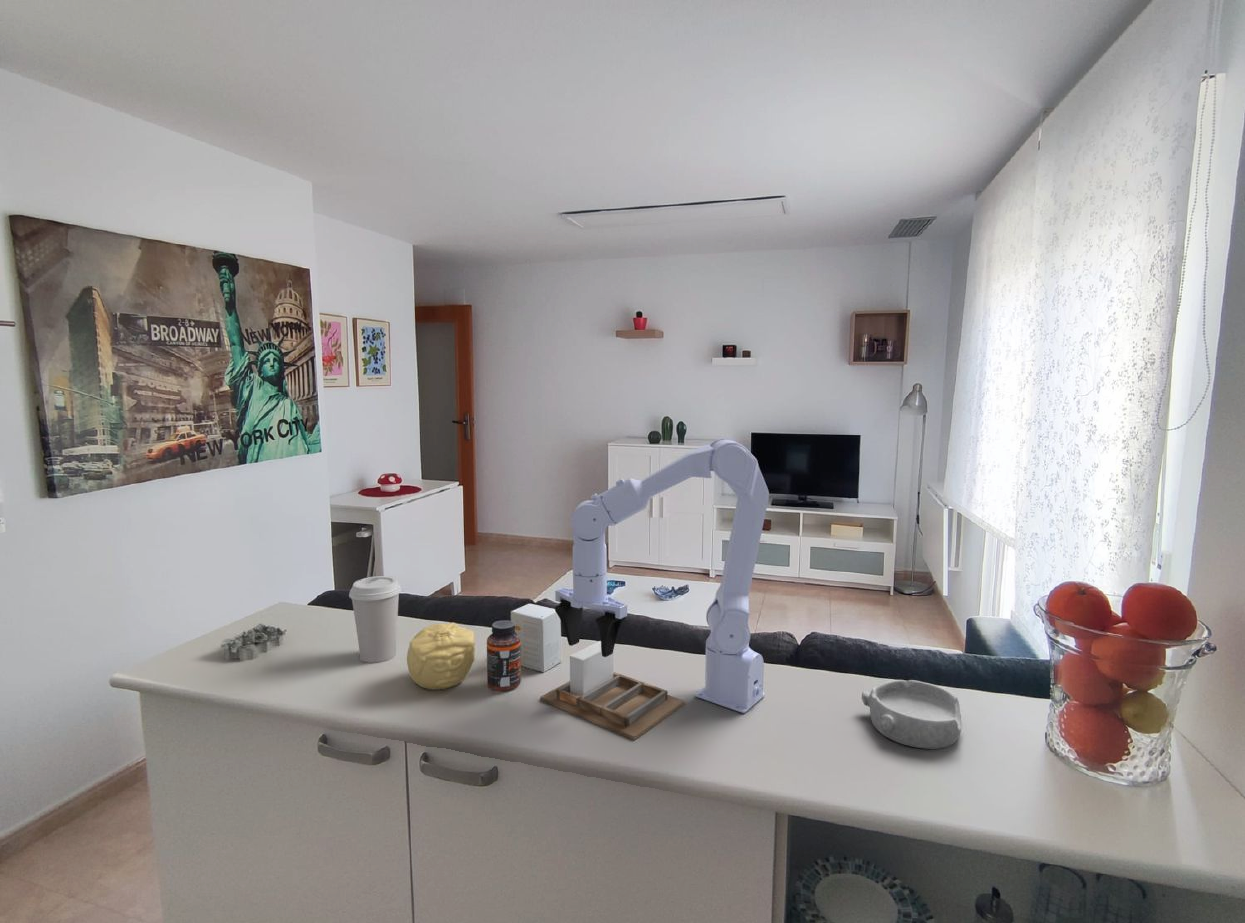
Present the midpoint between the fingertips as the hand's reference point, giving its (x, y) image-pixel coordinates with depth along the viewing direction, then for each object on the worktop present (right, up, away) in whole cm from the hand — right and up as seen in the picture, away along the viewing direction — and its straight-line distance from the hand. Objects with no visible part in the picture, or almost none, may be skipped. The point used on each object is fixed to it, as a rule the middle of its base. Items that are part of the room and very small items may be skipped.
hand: (590, 649), depth 109 cm
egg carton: (-69, -6, +19) cm, 72 cm away
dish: (+51, -10, -9) cm, 53 cm away
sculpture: (-27, -8, +6) cm, 29 cm away
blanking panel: (0, -7, +1) cm, 7 cm away
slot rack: (+4, -8, -2) cm, 9 cm away
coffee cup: (-43, -6, +16) cm, 46 cm away
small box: (-11, -7, +13) cm, 18 cm away
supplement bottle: (-16, -8, +4) cm, 18 cm away
